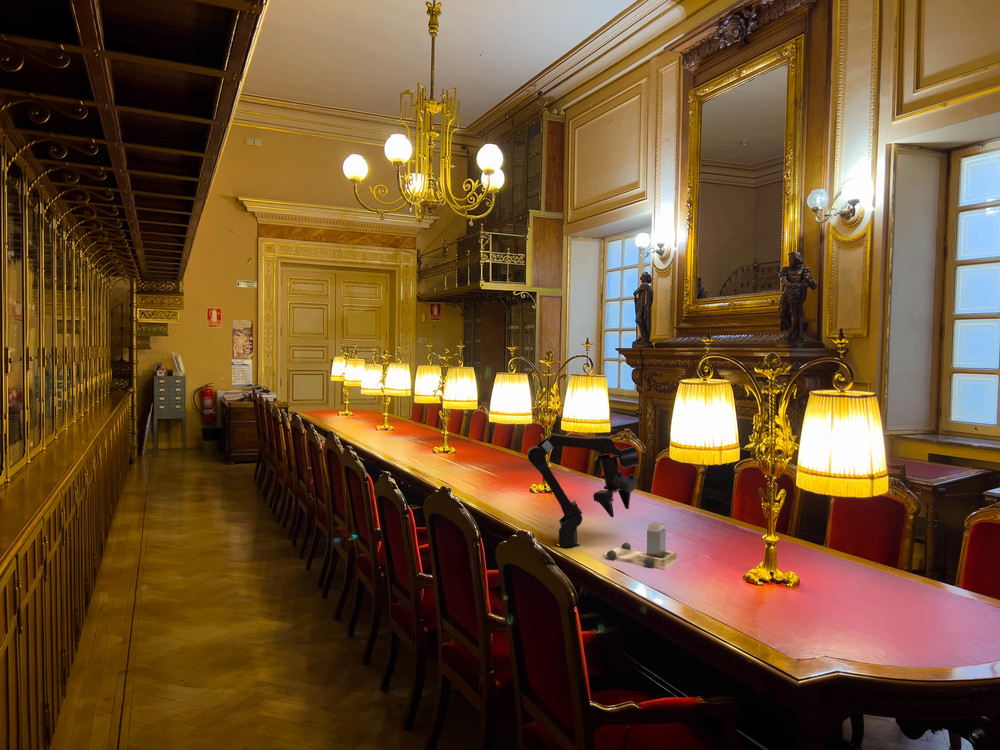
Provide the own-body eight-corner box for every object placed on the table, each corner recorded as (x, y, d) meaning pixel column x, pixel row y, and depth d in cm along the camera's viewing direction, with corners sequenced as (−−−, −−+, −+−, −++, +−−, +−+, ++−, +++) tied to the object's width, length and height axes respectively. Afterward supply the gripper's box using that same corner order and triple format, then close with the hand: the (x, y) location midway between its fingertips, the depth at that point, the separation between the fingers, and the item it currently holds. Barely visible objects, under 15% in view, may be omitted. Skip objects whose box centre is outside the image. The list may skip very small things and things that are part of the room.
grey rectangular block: (646, 560, 224) (647, 524, 224) (652, 556, 229) (653, 521, 228) (659, 562, 222) (660, 526, 221) (665, 559, 226) (665, 523, 226)
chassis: (601, 558, 230) (601, 549, 230) (617, 549, 240) (617, 540, 240) (663, 570, 217) (663, 561, 217) (677, 560, 227) (677, 551, 227)
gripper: (613, 478, 231) (622, 522, 232) (644, 463, 244) (653, 505, 245) (588, 478, 240) (597, 521, 240) (619, 464, 252) (627, 504, 253)
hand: (619, 513), depth 244 cm, fingers open, 9 cm apart
